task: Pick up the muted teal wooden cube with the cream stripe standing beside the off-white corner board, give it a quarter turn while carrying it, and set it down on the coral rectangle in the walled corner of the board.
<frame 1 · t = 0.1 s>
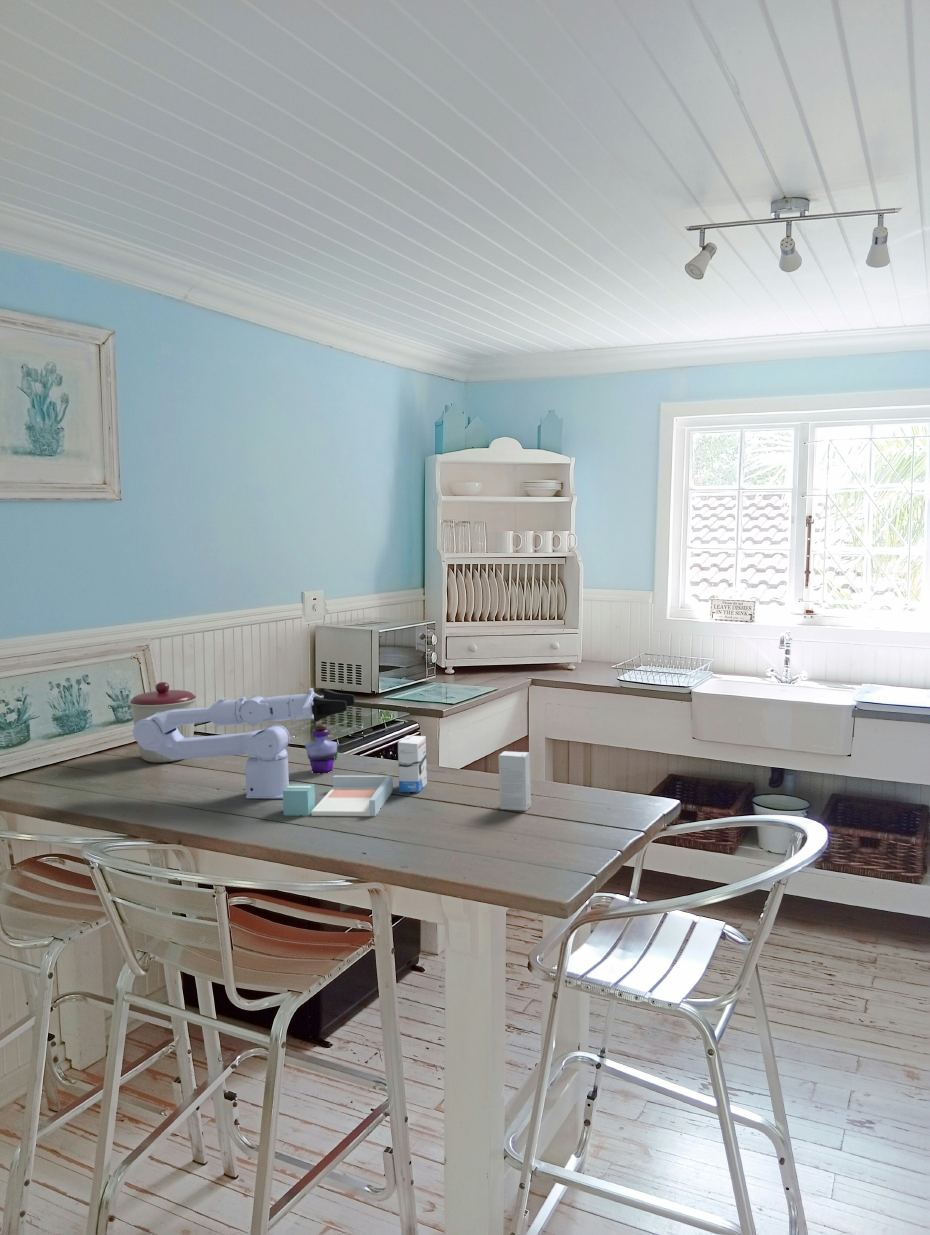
hand: (350, 702, 221), 22 cm above the table, tool horizontal, fingers open, 7 cm apart
potion bottle: (322, 772, 246), on the table
skincare box: (515, 808, 210), on the table
canister: (166, 759, 264), on the table
ink box: (413, 788, 228), on the table
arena: (355, 801, 218), on the table
cube: (299, 812, 212), on the table
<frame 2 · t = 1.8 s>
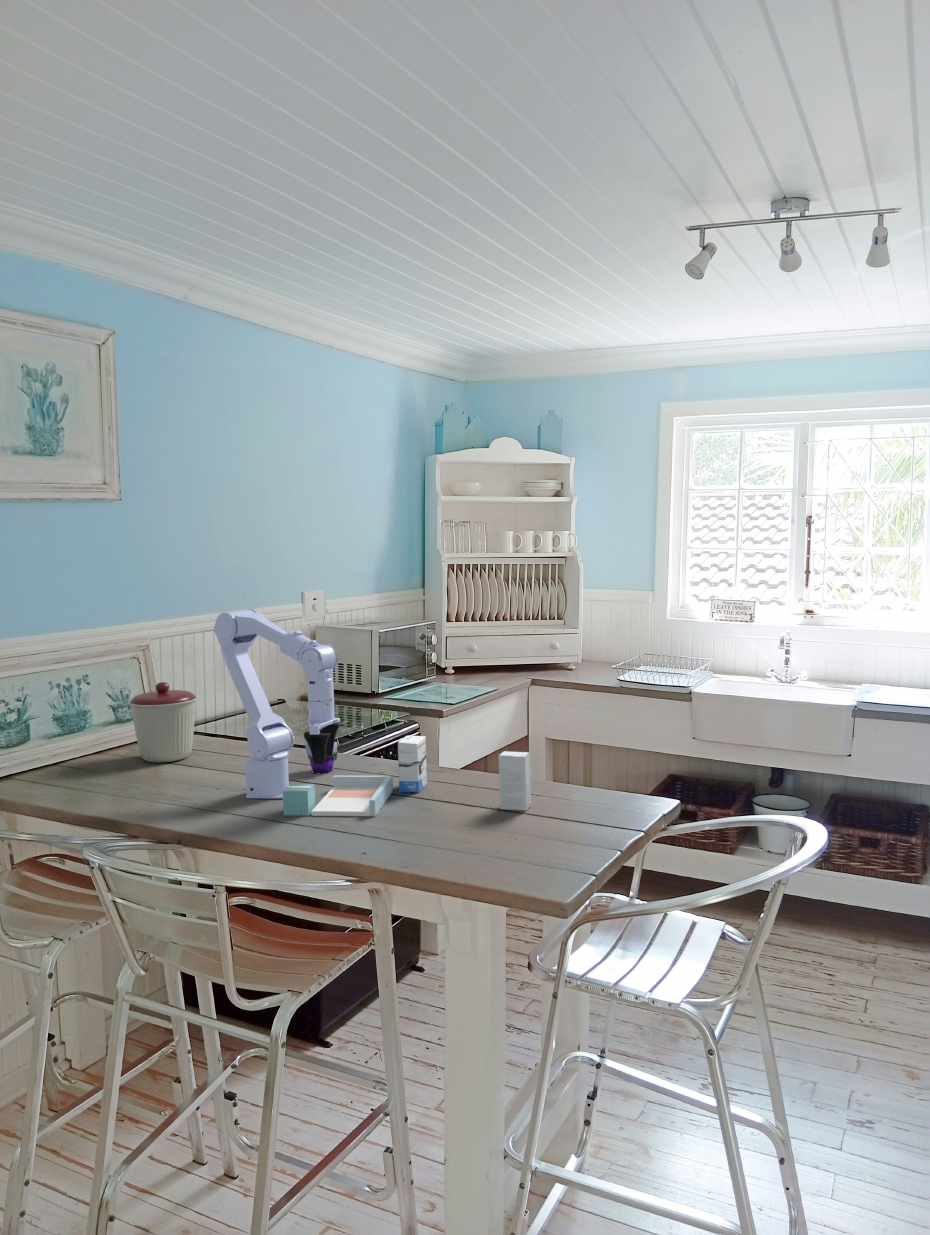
hand: (323, 759, 216), 10 cm above the table, tool pointing down, fingers open, 7 cm apart
nothing on the table moved.
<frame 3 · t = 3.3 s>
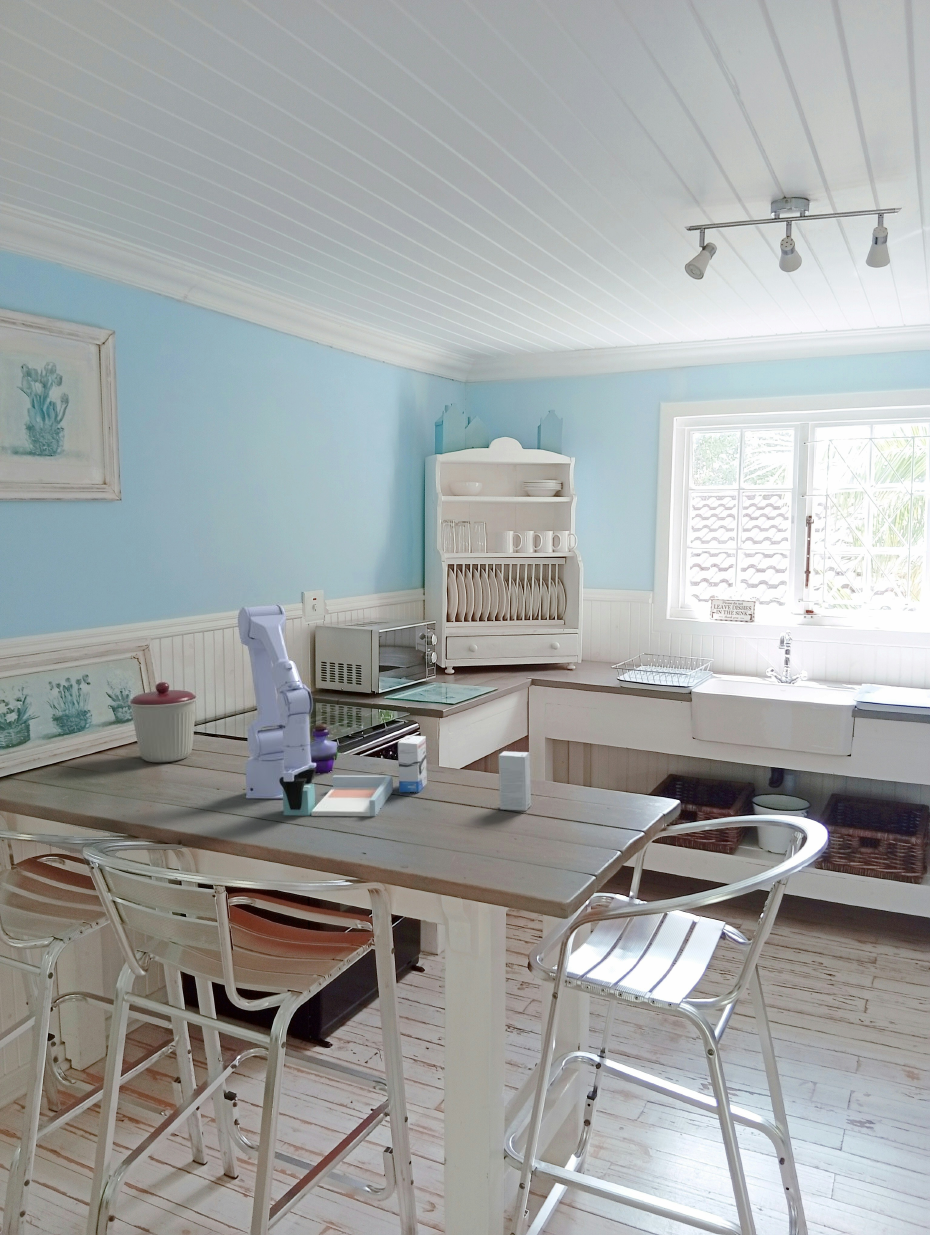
hand: (299, 805, 212), 1 cm above the table, tool pointing down, fingers closed on cube, 5 cm apart
cube: (299, 811, 212), on the table, touching gripper
everything else where it was.
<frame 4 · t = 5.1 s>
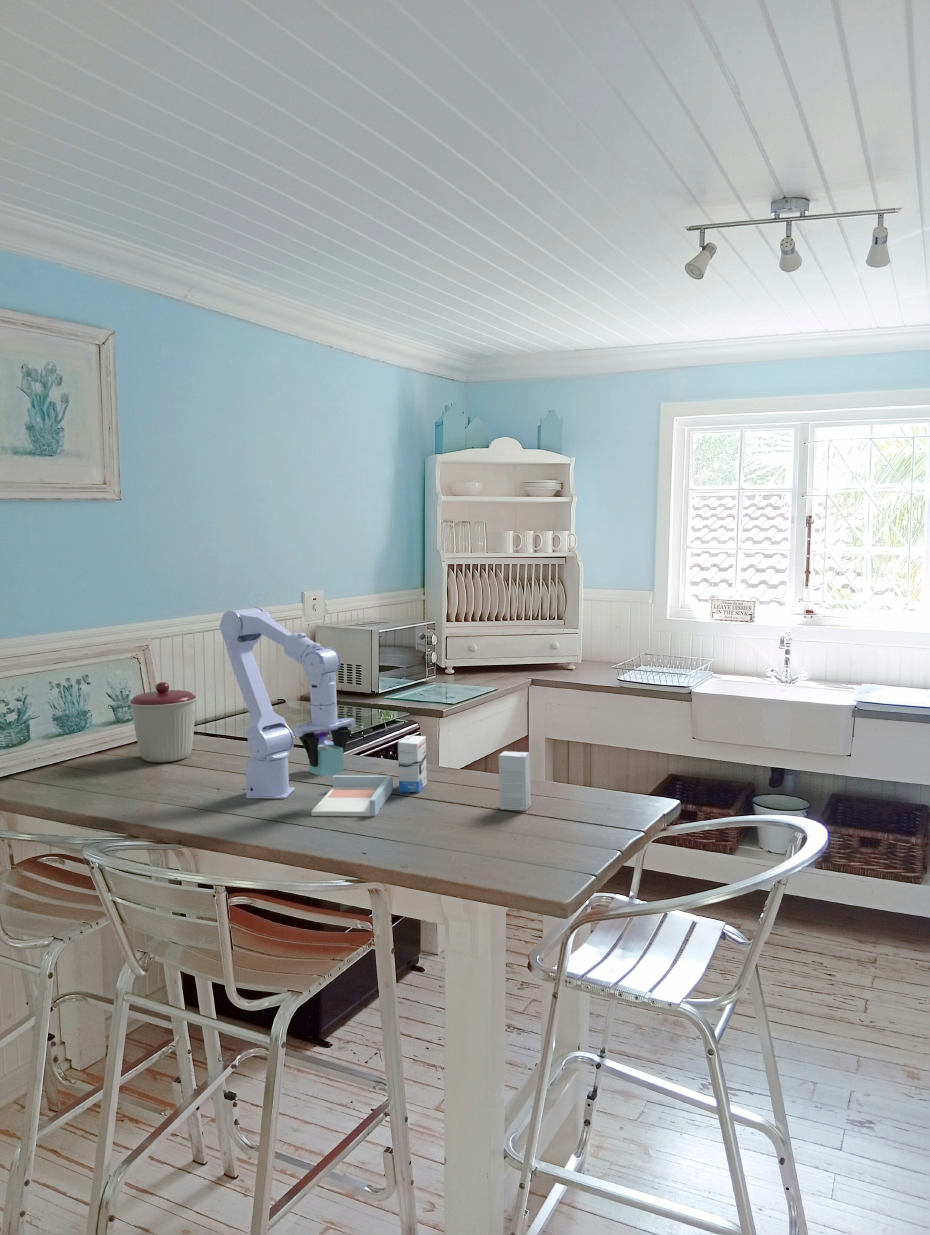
hand: (326, 763, 215), 9 cm above the table, tool pointing down, fingers closed on cube, 6 cm apart
cube: (326, 772, 215), point 8 cm above the table, touching gripper
everything else where it was.
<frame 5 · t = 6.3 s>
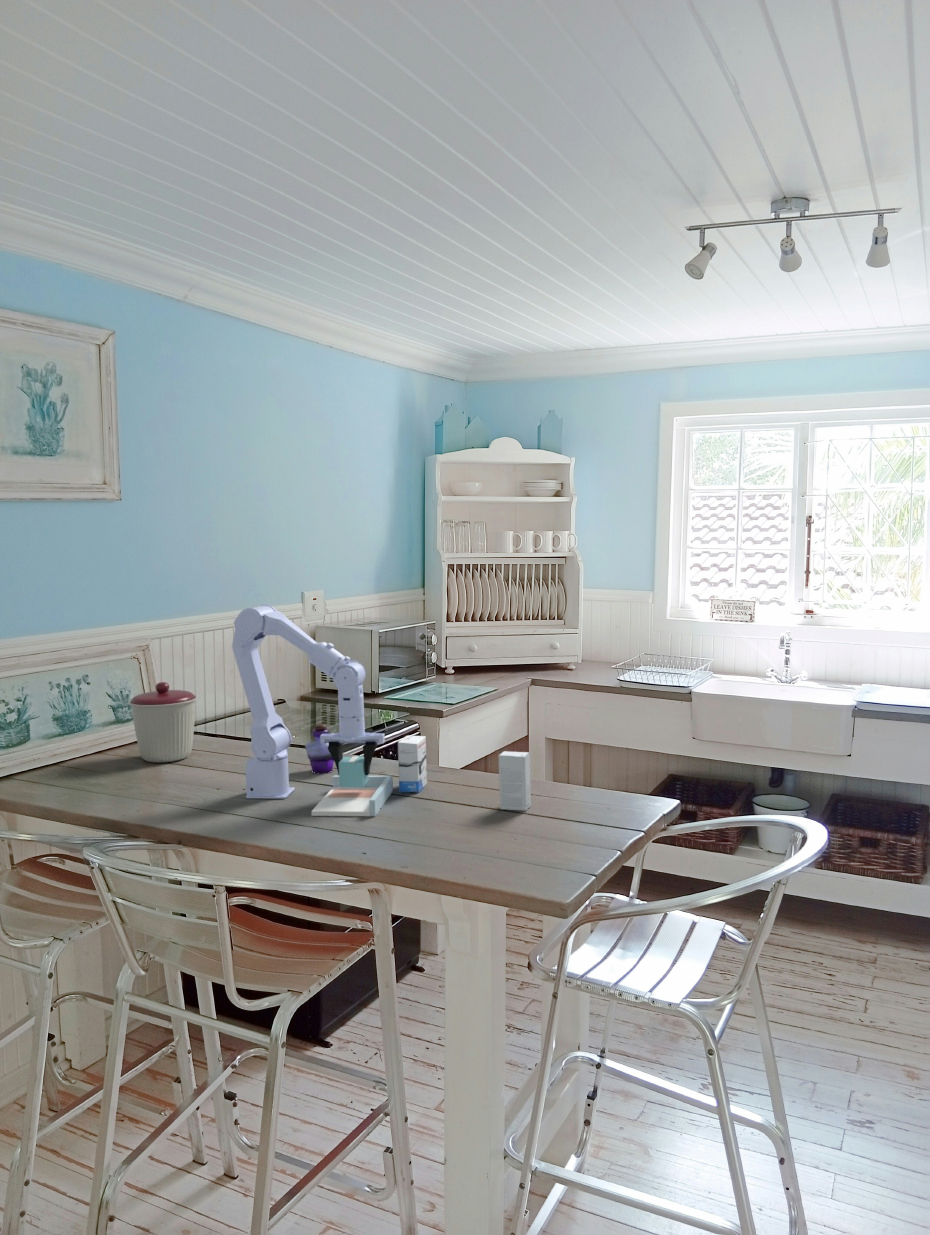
hand: (354, 774, 221), 5 cm above the table, tool pointing down, fingers closed on cube, 5 cm apart
cube: (354, 783, 221), point 3 cm above the table, touching gripper
everything else where it was.
when the fingers open (3 cm above the table, at t = 7.2 s): cube stays where it is, resting on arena.
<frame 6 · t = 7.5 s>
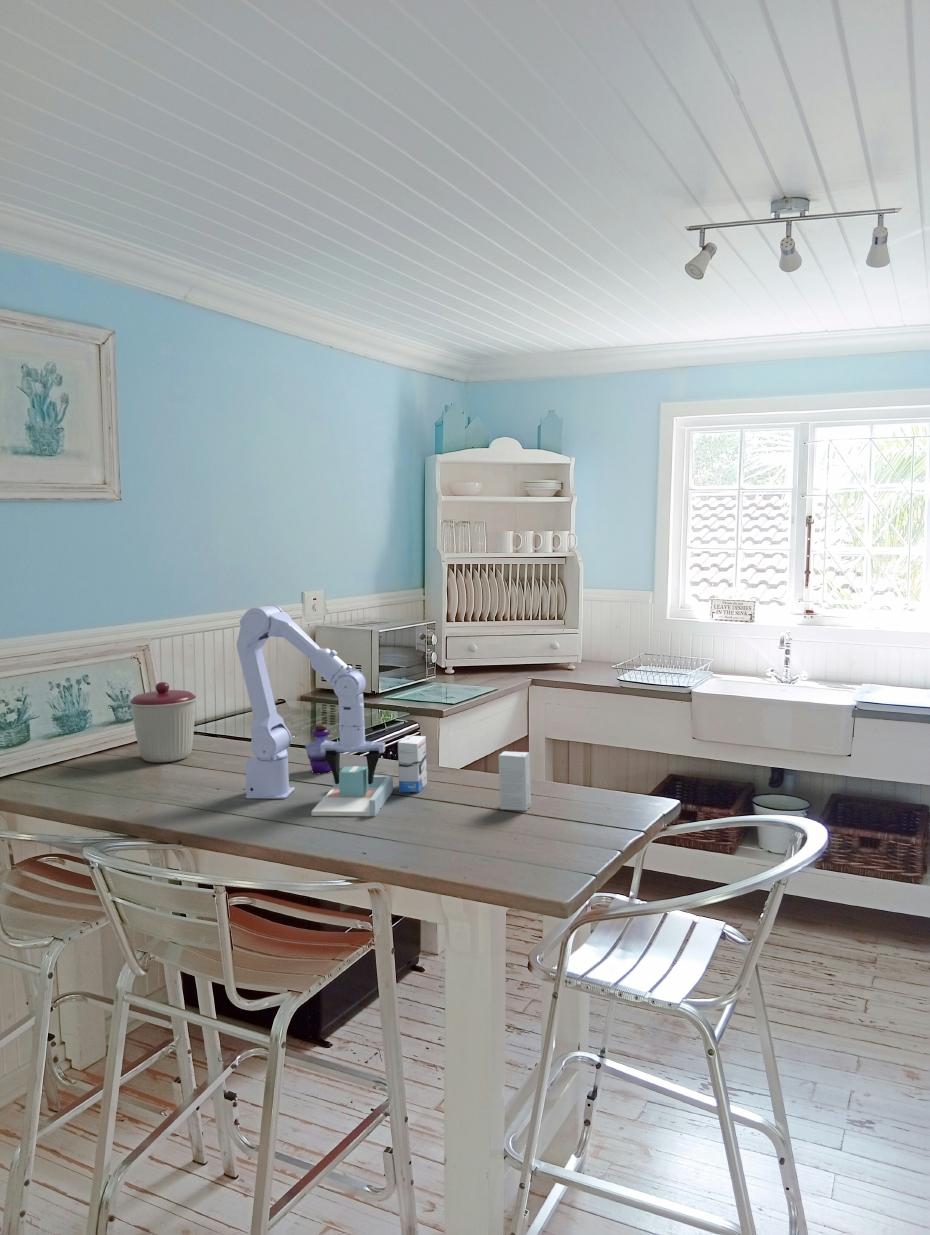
hand: (354, 783, 221), 3 cm above the table, tool pointing down, fingers open, 7 cm apart
cube: (354, 793, 221), point 1 cm above the table, touching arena
everything else where it was.
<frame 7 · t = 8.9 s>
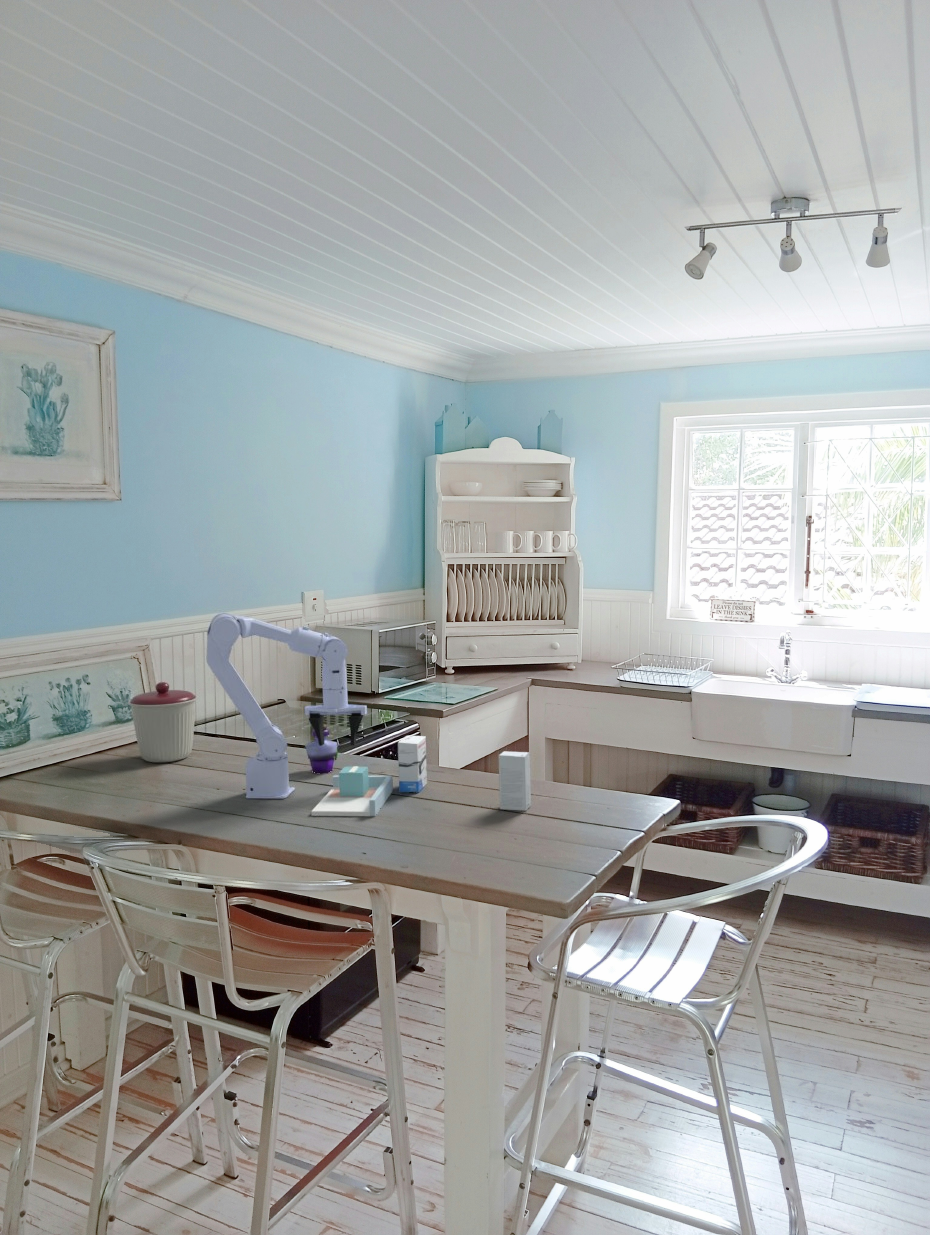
hand: (337, 744, 229), 10 cm above the table, tool pointing down, fingers open, 7 cm apart
nothing on the table moved.
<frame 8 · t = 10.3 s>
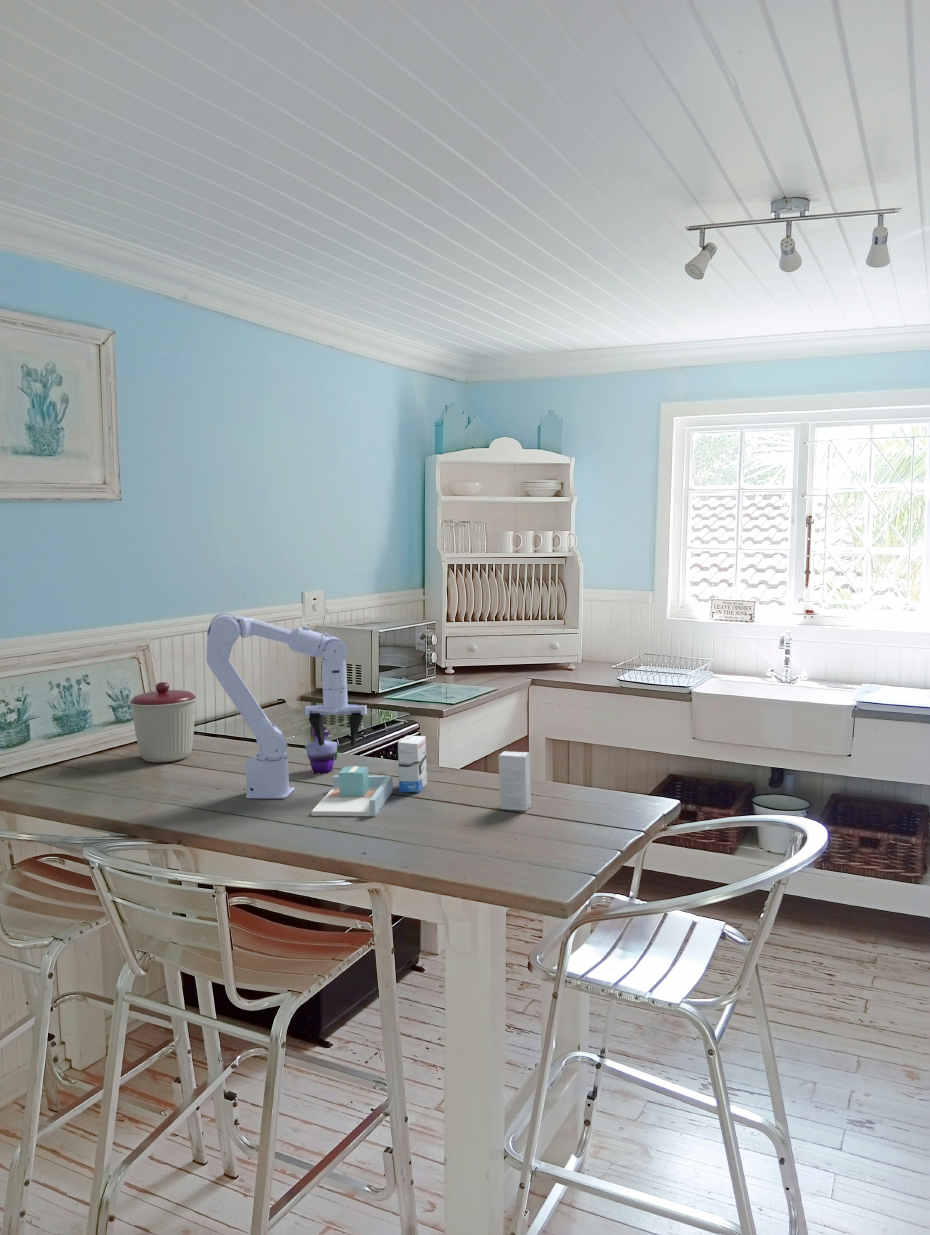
hand: (337, 744, 229), 10 cm above the table, tool pointing down, fingers open, 7 cm apart
nothing on the table moved.
at the end: cube 0.0 cm from the target spot on the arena, point 1.0 cm above the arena's base; cube tilted 0°; the gripper is holding nothing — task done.
